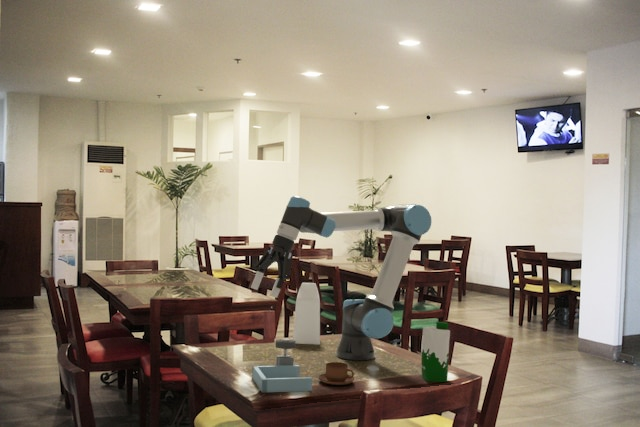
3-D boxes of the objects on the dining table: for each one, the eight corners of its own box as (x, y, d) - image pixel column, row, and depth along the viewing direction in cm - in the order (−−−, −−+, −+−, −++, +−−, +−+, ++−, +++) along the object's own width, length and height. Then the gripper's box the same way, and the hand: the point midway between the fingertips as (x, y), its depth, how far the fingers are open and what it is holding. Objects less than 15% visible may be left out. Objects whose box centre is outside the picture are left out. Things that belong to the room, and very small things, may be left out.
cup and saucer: (354, 379, 217) (355, 361, 217) (353, 389, 205) (354, 370, 205) (320, 377, 218) (320, 359, 218) (316, 386, 206) (317, 367, 206)
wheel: (292, 353, 224) (293, 337, 224) (297, 358, 218) (297, 341, 218) (273, 354, 222) (273, 337, 223) (277, 358, 216) (278, 341, 216)
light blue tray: (293, 372, 224) (294, 355, 224) (311, 390, 200) (312, 371, 200) (248, 373, 219) (249, 355, 219) (262, 392, 196) (262, 373, 196)
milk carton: (450, 382, 218) (452, 324, 218) (424, 382, 217) (426, 324, 217) (443, 376, 226) (445, 320, 226) (418, 376, 226) (420, 320, 226)
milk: (292, 343, 275) (295, 283, 276) (293, 338, 287) (295, 281, 287) (320, 344, 275) (322, 284, 276) (319, 339, 287) (322, 282, 287)
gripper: (260, 229, 236) (238, 282, 233) (296, 238, 216) (273, 296, 213) (275, 236, 240) (254, 288, 237) (312, 246, 220) (290, 303, 217)
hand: (263, 292), depth 225 cm, fingers open, 13 cm apart
